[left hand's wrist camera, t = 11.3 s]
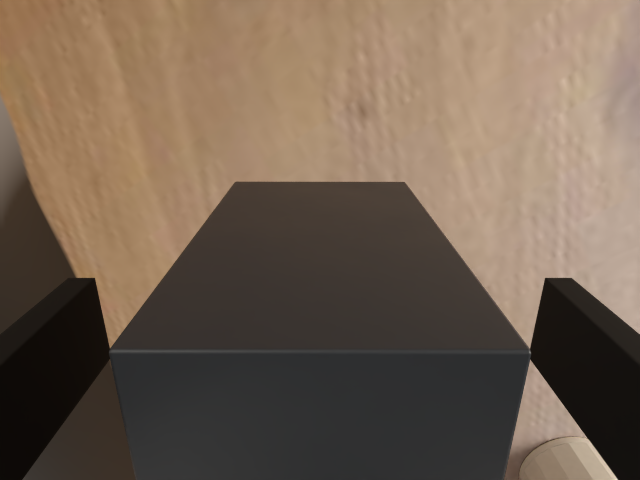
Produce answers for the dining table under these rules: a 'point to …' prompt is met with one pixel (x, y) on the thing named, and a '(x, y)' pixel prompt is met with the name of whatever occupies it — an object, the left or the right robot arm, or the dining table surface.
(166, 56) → the dining table surface
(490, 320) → the beam
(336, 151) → the dining table surface
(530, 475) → the white cup
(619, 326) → the left robot arm
